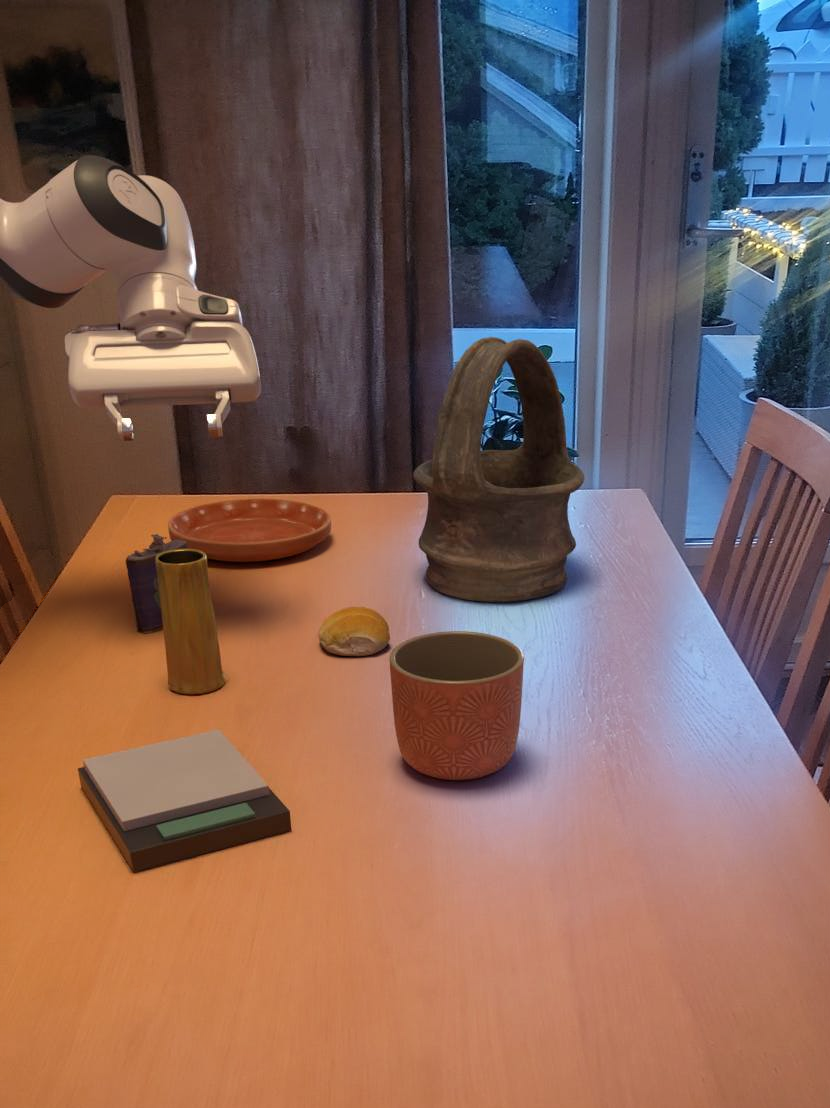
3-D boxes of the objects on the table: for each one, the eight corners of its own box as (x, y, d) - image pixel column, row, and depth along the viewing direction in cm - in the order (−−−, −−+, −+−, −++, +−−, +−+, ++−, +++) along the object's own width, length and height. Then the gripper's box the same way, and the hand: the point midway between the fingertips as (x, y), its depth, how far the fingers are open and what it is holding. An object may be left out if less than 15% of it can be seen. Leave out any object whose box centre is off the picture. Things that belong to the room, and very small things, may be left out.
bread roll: (387, 628, 148) (386, 596, 146) (391, 656, 141) (390, 623, 138) (318, 630, 147) (316, 599, 145) (319, 659, 140) (316, 626, 138)
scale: (133, 872, 101) (128, 841, 100) (81, 787, 114) (75, 758, 112) (291, 830, 107) (289, 800, 105) (225, 753, 120) (222, 725, 118)
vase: (186, 700, 130) (168, 569, 123) (158, 682, 134) (139, 555, 127) (236, 685, 134) (221, 557, 126) (207, 668, 137) (191, 543, 130)
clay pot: (615, 585, 161) (631, 341, 146) (469, 621, 150) (469, 361, 135) (518, 542, 177) (522, 318, 161) (378, 571, 166) (368, 333, 150)
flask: (186, 607, 154) (175, 523, 148) (203, 612, 152) (193, 527, 147) (131, 630, 147) (118, 543, 142) (149, 635, 146) (136, 547, 140)
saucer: (201, 517, 187) (199, 493, 185) (348, 524, 184) (347, 499, 182) (146, 565, 168) (143, 539, 166) (309, 573, 165) (307, 546, 163)
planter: (420, 802, 111) (418, 691, 106) (375, 746, 121) (370, 642, 115) (543, 776, 116) (547, 669, 110) (490, 724, 125) (490, 623, 120)
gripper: (57, 307, 130) (65, 423, 127) (252, 300, 133) (264, 414, 130) (68, 344, 136) (76, 456, 133) (255, 337, 139) (266, 447, 136)
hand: (171, 435), depth 132 cm, fingers open, 8 cm apart
